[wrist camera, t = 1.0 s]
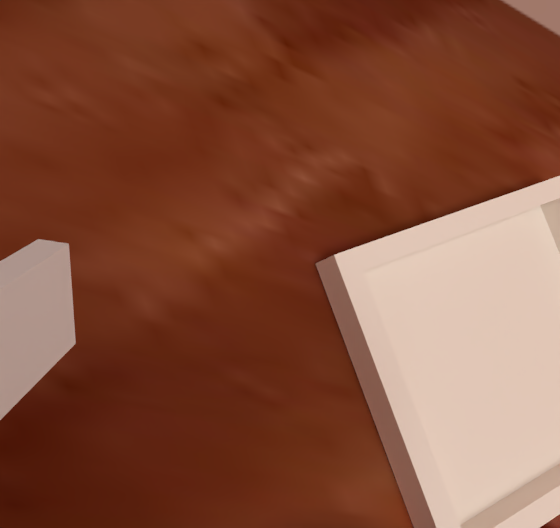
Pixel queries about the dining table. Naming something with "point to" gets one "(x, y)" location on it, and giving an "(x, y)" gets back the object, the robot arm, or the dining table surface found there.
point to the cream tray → (462, 357)
